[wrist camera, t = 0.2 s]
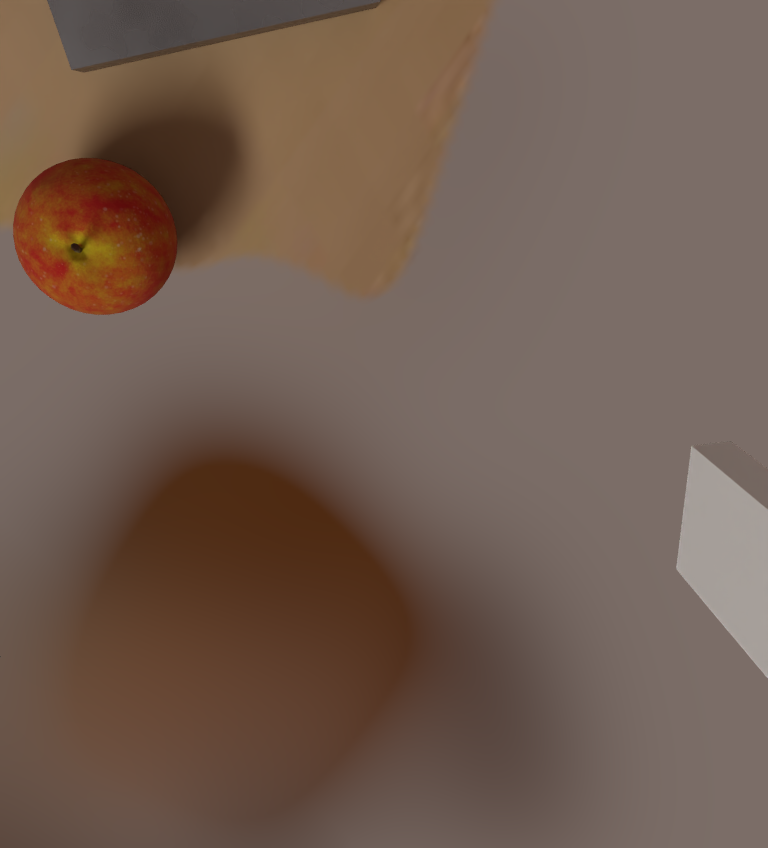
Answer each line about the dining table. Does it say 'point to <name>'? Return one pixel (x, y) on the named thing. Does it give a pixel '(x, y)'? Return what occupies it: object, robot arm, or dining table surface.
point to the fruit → (95, 236)
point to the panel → (175, 25)
